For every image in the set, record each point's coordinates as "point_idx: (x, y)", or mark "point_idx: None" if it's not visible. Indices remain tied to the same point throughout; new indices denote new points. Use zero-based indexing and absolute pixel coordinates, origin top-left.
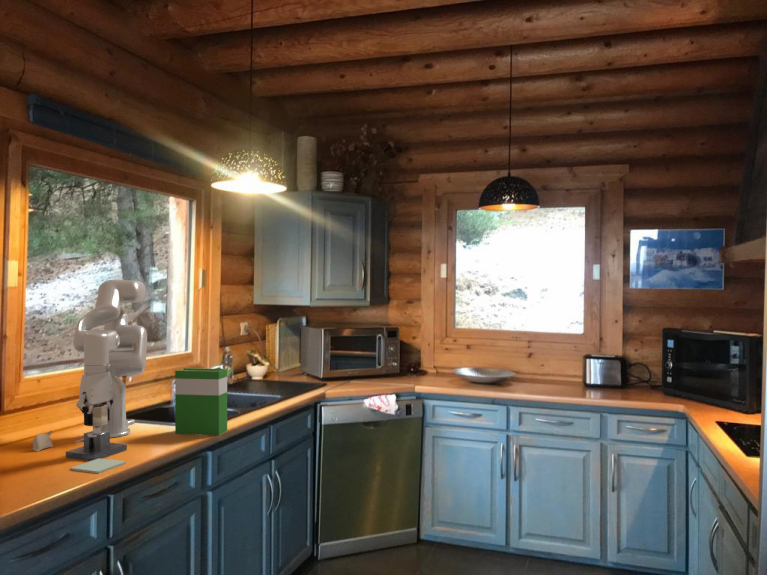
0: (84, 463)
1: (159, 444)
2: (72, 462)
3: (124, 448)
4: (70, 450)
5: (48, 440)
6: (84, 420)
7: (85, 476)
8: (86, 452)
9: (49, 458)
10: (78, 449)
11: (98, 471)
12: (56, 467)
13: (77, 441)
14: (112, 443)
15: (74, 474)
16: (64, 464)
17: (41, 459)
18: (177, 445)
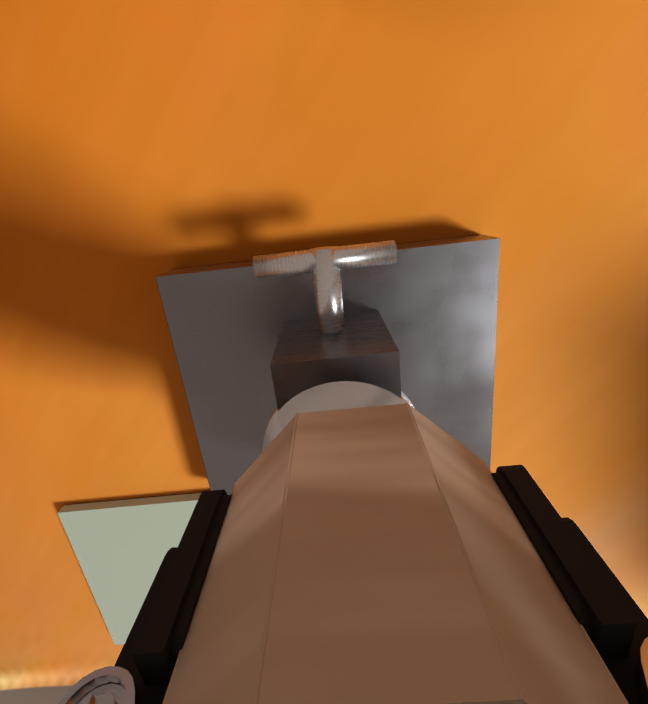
0: (145, 509)
1: (642, 519)
2: (143, 400)
3: None
4: (197, 279)
5: None
6: (160, 577)
7: (64, 623)
8: (226, 427)
9: (97, 167)
10: (247, 309)
11: (115, 644)
12: (35, 407)
13: (258, 277)
14: (476, 388)
15: (45, 570)
16: (93, 395)
17: (45, 133)
18: (639, 602)
